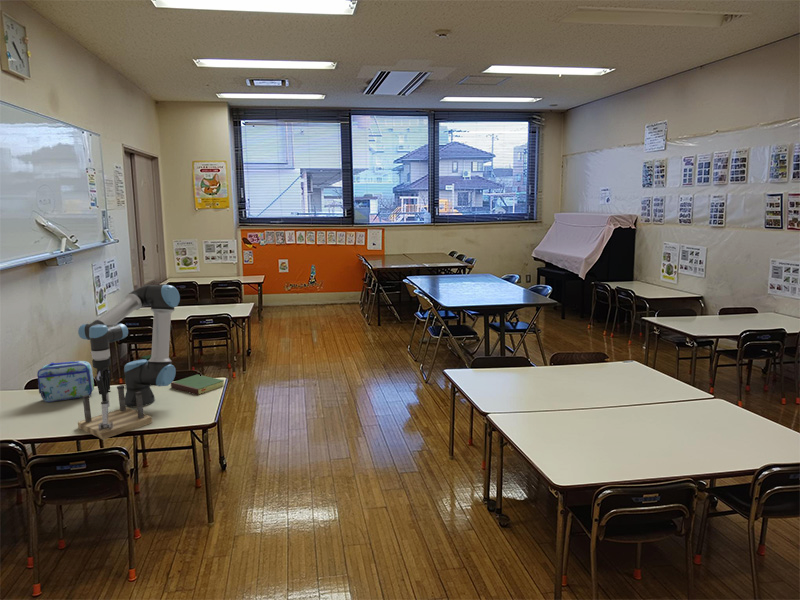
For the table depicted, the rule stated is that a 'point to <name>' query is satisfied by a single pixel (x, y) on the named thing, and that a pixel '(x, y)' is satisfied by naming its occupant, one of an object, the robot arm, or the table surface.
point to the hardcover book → (197, 384)
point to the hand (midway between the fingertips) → (106, 406)
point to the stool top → (115, 417)
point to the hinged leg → (105, 415)
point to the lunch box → (65, 380)
